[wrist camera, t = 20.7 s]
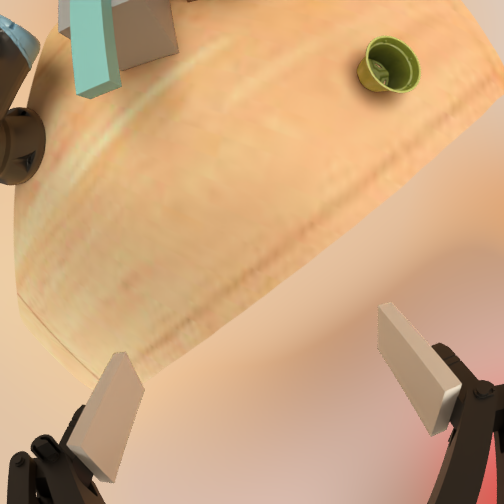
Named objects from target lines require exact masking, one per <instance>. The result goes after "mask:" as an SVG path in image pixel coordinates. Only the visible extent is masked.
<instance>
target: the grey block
mask: <svg viewBox="0 0 504 504" xmlns="http://www.w3.org/2000/svg"><path fill="white" fill-rule="evenodd" d="M111 6H112V17H113V27H114V35H115V44H116V51H117V59H118V66H119V69H120V70H122V71H124V70H126V69H129V68H132V67H135V66H138V65H140V64H143V63H146V62H150V61H153V60H156V59H159V58H162V57H166V56H169V55H173V54H176V53H179V51H178V45H177V40H176V35H175V29H174V24H173V18H172V12H171V7H170V1H169V0H111ZM58 7H59V8H58V32H59V33H61V34H62V35H64V36H66V37H68V38H69V39H71V30H70V0H59V5H58Z"/></svg>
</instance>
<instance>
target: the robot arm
mask: <svg viewBox="0 0 504 504" xmlns="http://www.w3.org/2000/svg"><path fill="white" fill-rule="evenodd" d="M39 50H40V42H39V41H38V39H37V38H36V37H34V36H33V35H32V34H31V33H29V32H28V31H27V30H25V29H24V28H22V27H21V26H19V25H17V24H15V23H14V22H12V21H11V20H10V19H8V18H6V17H4V16H2V15H0V183H2V184H6V185H16V184H21V183H23V182H26V181H27V180H29V179H30V178H31V177H32V176H33V175H34V173H35V172H36V171H37V169H38V167H39V165H40V163H41V161H42V158H43V154H44V149H45V130H44V126H43V123H42V120H41V118H40V117H39V115H38V114H37V113H36V112H35V111H33V110H31V109H29V108H21V107H18V108H13V109H10V110H9V108H10V106H11V104H12V102H13V100H14V98H15V96H16V94H17V92H18V90H19V88H20V86H21V84H22V83H23V81H24V79H25V77H26V76H27V74H28V72H29V71H30V70H31V68H32V64H33V62H34V60H35V59H36V57H37V55H38V53H39ZM378 350H379V352H380V353H381V354H382V356H383V358H384V360H385V361H386V363H387V364H388V366H389V367H390V369H391V371H392V372H393V374H394V375H395V377H396V379H397V381H398V382H399V384H400V385H401V387H402V389H403V390H404V392H405V394H406V395H407V397H408V399H409V400H410V402H411V404H412V405H413V407H414V409H415V410H416V412H417V414H418V416H419V417H420V419H421V421H422V422H423V424H424V426H425V428H426V429H427V431H428V433H429V435H430V436H434V435H436V434H438V433H440V432H443V431H445V430H446V429H447V427H448V424H449V422H451V424H452V425H453V427H454V428H453V431H452V433H451V435H450V438H449V440H448V442H449V444H448V448H447V451H446V454H445V458H444V461H443V463H442V467H441V469H440V473H439V475H438V478H437V480H436V483H435V486H434V488H433V491H432V493H431V496H430V498H429V501H428V503H427V504H476V502H477V499H478V496H479V492H480V489H481V485H482V481H483V477H484V473H485V469H486V464H487V460H488V455H489V450H490V445H491V439H492V433H493V432H494V438H495V450H496V467H497V504H504V384H502V385H497V386H494V385H493V384H492V383H490V382H489V381H485V380H478V379H477V378H476V377H475V376H474V375H473V373H472V372H471V371H470V370H469V369H468V368H467V367H466V366H465V364H464V363H463V362H462V361H460V359H459V358H458V357H457V356H456V355H455V353H454V352H453V351H452V350H451V349H450V348H449V347H447V346H445V345H444V344H442V343H438V344H435V345H432V346H430V345H429V343H427V341H426V340H425V339H424V338H423V337H422V336H421V334H420V333H419V332H418V331H417V330H416V329H415V327H413V326H412V324H411V323H410V322H409V321H408V320H407V319H406V318H405V316H404V315H403V314H402V313H401V312H400V311H399V310H398V309H397V308H396V307H395V305H394V304H393V303H392V302H388V303H385V304H381V305H378ZM144 391H145V389H144V387H143V385H142V383H141V381H140V379H139V377H138V375H137V374H136V372H135V370H134V368H133V365H132V363H131V361H130V359H129V357H128V355H127V353H126V352H120V353H114V354H113V356H112V358H111V359H110V361H109V363H108V365H107V367H106V368H105V370H104V372H103V374H102V376H101V378H100V379H99V381H98V383H97V385H96V387H95V389H94V391H93V393H92V394H91V396H90V398H89V400H88V402H87V404H86V405H82V406H81V407H80V408H79V409H78V410H77V411H76V412H75V414H74V416H73V417H72V421H70V423H69V427H67V429H66V431H65V433H64V435H63V437H62V439H61V441H60V443H59V444H58V443H57V442H56V441H55V440H54V439H53V437H52V436H50V435H41V436H39V437H37V438H36V439H35V440H34V441H33V442H32V444H31V451H32V452H33V453H34V454H35V456H36V457H37V458H31V457H30V456H29V455H28V453H26V452H24V451H21V452H18V453H16V454H15V455H13V457H12V458H11V460H10V466H9V475H8V490H7V504H105V502H104V500H103V498H102V496H101V495H100V493H99V491H98V489H97V487H96V485H95V483H94V482H93V481H92V477H93V474H94V475H95V476H96V477H97V478H98V479H99V480H100V481H102V482H109V483H114V482H115V479H116V476H117V472H118V469H119V466H120V463H121V460H122V456H123V453H124V450H125V447H126V444H127V440H128V438H129V435H130V432H131V429H132V426H133V423H134V420H135V417H136V414H137V411H138V408H139V405H140V402H141V399H142V397H143V394H144ZM36 493H37V497H36Z"/></svg>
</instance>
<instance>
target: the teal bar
mask: <svg viewBox="0 0 504 504" xmlns="http://www.w3.org/2000/svg"><path fill="white" fill-rule="evenodd" d="M70 30H71V47H72V60H73V70H74V79H75V88H76V95H79V96H82V97H85V98H88V99H92V98H95V97H97V96H99V95H102V94H104V93H107V92H109V91H112V90H114V89H117V88H120V87H122V85H121V79H120V72H119V66H118V59H117V51H116V44H115V35H114V27H113V17H112V6H111V0H70Z"/></svg>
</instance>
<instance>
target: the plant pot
mask: <svg viewBox="0 0 504 504" xmlns="http://www.w3.org/2000/svg"><path fill="white" fill-rule="evenodd" d="M375 63H376V64H378V65H380V66H381V68H380V67H378V66H377V65H375ZM374 74H375V75H374ZM357 75H358V77H359V80H360V82H361V84H362V85H363V86H364V87H365V88H367V89H369V90H371V91H374V92H380V91H392V92H396V93H406V92H410V91H412V90H413V89H414V88H415V87H416V86H417V85H418V83H419V81H420V77H421V68H420V64H419V61H418V58H417V56H416V55H415V53H414V52H413V50H412V49H411V48H410V47H409V46H408V45H407V44H406V43H404V42H403V41H401V40H399V39H397V38H395V37H392V36H379V37H376V38H375V39H373V40H372V41H371V42H370V43H369V45H368V47H367V49H366V56H365V57H364V59H363V60H362V61H361V63H360V64H359V66H358V68H357ZM385 80H386V83H385V85H384V84H383V83H384V81H385Z"/></svg>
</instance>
